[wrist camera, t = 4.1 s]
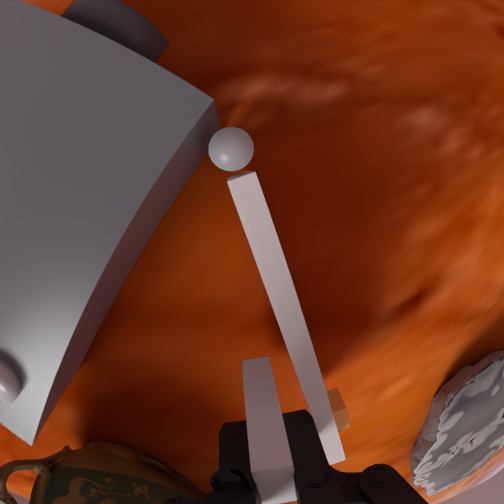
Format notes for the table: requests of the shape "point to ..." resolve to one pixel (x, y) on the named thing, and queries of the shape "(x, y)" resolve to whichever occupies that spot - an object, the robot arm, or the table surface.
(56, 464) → the cup
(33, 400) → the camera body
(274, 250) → the door
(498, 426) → the brain slice
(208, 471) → the table surface
